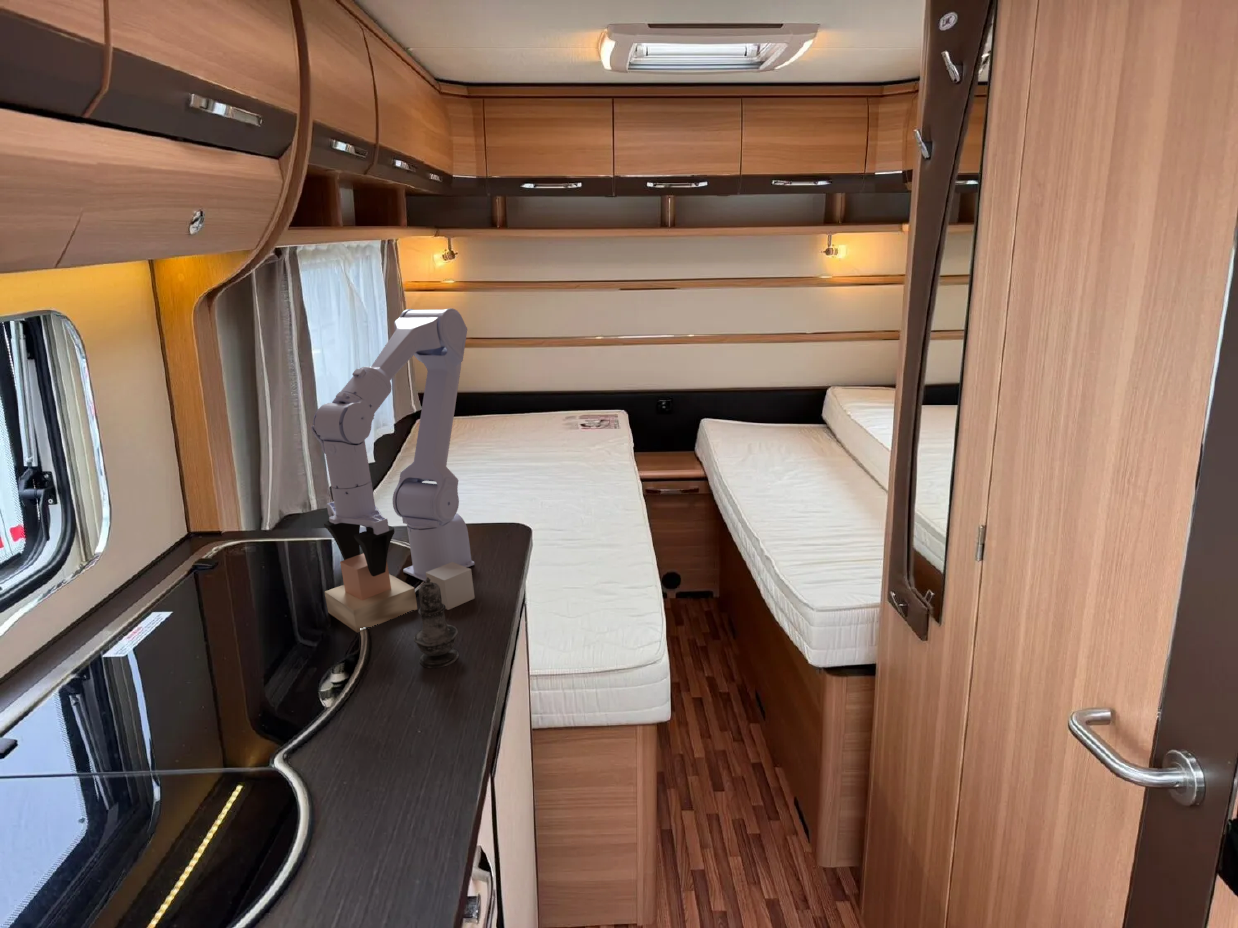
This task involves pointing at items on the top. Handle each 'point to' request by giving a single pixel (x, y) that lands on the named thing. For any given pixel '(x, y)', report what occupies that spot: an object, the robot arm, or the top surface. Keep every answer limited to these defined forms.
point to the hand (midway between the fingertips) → (365, 567)
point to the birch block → (371, 605)
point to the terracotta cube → (363, 578)
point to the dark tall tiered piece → (435, 629)
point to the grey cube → (453, 584)
